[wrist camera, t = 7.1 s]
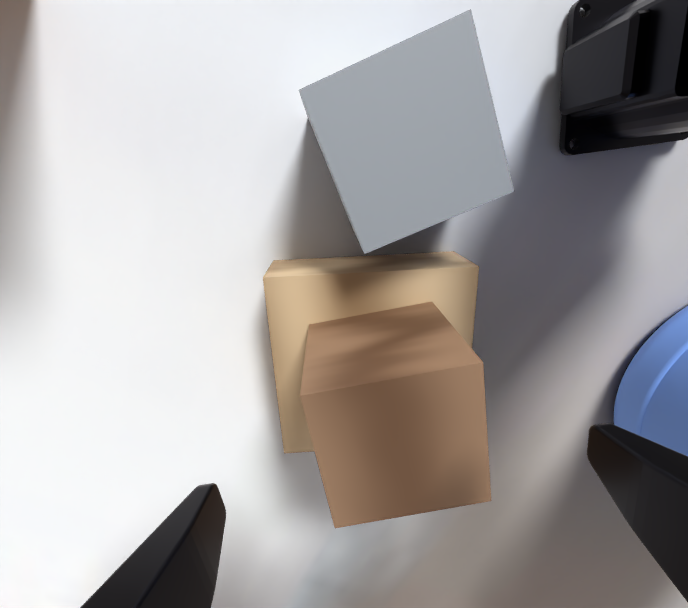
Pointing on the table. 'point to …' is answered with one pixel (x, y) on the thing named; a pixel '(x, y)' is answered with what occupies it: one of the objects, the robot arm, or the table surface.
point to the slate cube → (411, 134)
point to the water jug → (658, 387)
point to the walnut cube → (395, 414)
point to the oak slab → (353, 309)
